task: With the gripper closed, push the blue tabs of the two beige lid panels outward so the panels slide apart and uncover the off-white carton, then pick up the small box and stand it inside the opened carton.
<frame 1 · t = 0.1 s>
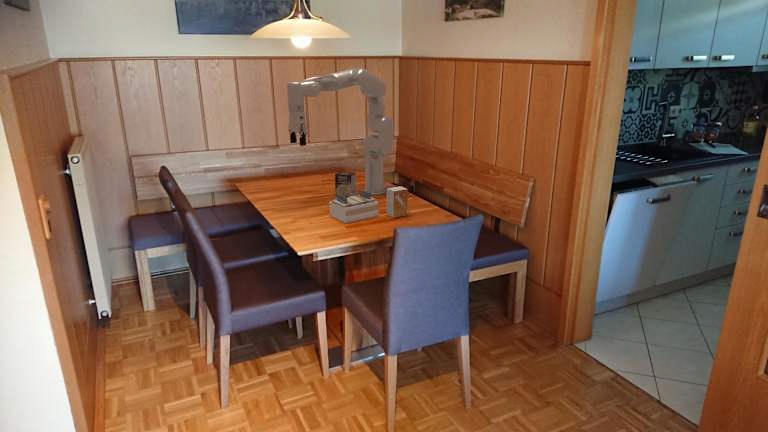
hand: (298, 144, 248), 31 cm above the table, tool pointing down, fingers open, 9 cm apart
coffee box: (345, 204, 261), on the table
lid panel 2: (361, 195, 241), point 9 cm above the table, slide at 0.0 cm
carton: (354, 216, 241), on the table
lid panel 1: (345, 198, 236), point 9 cm above the table, slide at 0.0 cm
small box: (396, 215, 242), on the table
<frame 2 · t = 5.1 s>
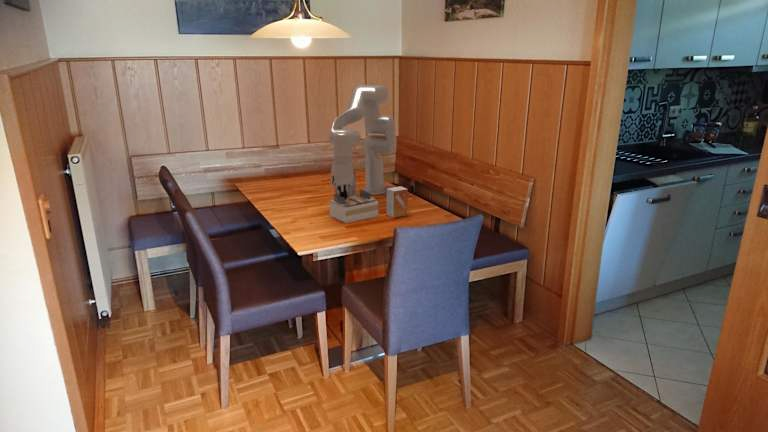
hand: (343, 199, 235), 9 cm above the table, tool pointing down, fingers closed
lid panel 1: (342, 199, 235), point 9 cm above the table, slide at 1.4 cm, touching gripper
everything else where it was.
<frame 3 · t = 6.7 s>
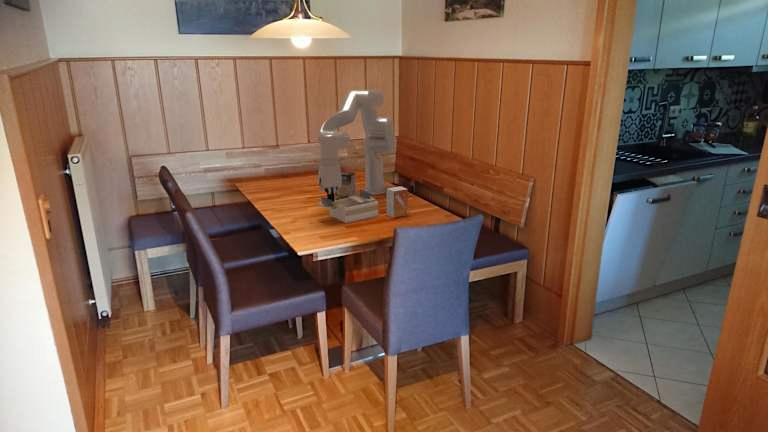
hand: (331, 201, 231), 9 cm above the table, tool pointing down, fingers closed
lid panel 1: (330, 201, 231), point 9 cm above the table, slide at 8.0 cm, touching gripper
everything else where it was.
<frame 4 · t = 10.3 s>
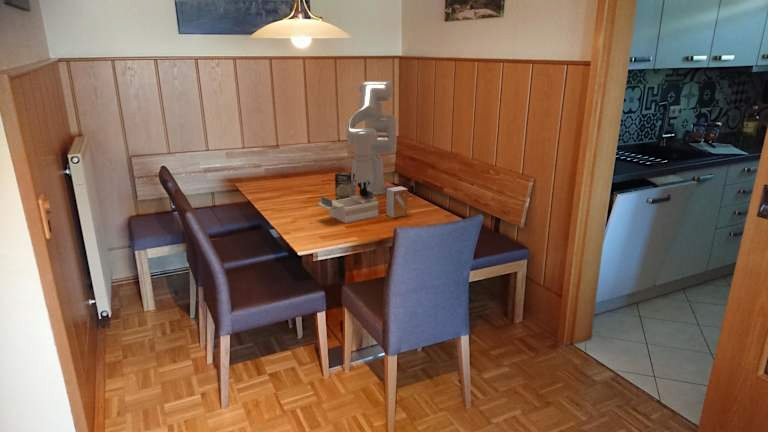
hand: (363, 196, 242), 9 cm above the table, tool pointing down, fingers closed
lid panel 2: (364, 195, 242), point 9 cm above the table, slide at 1.4 cm, touching gripper
lid panel 1: (330, 201, 231), point 9 cm above the table, slide at 8.0 cm
everything else where it was.
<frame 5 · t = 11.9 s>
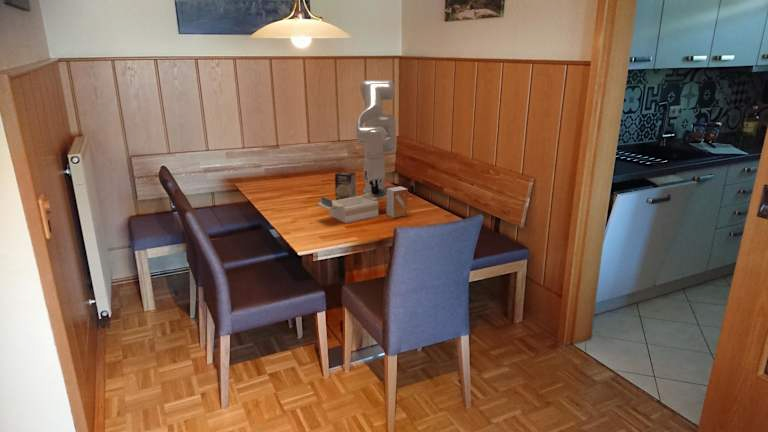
hand: (374, 193, 245), 9 cm above the table, tool pointing down, fingers closed
lid panel 2: (375, 193, 245), point 9 cm above the table, slide at 8.0 cm, touching gripper
everything else where it was.
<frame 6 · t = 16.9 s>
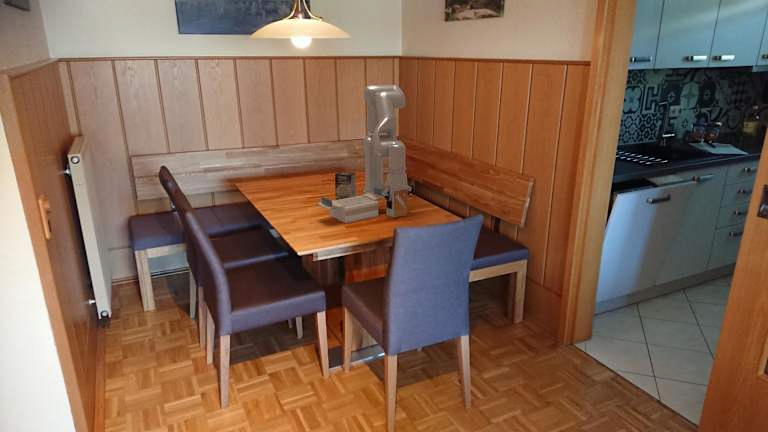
hand: (397, 206, 241), 4 cm above the table, tool pointing down, fingers closed on small box, 8 cm apart
lid panel 2: (375, 193, 245), point 9 cm above the table, slide at 8.0 cm
small box: (396, 215, 242), on the table, touching gripper
everything else where it was.
when the fingers open (6 cm above the table, at t = 23.2 s): small box drops 1 cm, resting on carton.
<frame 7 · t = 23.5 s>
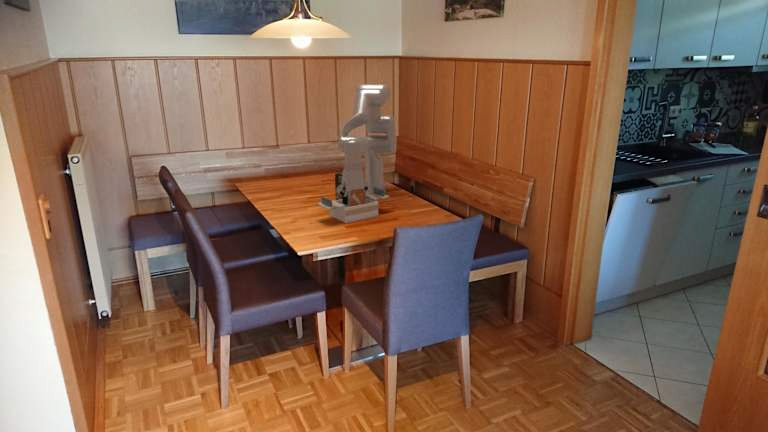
hand: (353, 202, 239), 7 cm above the table, tool pointing down, fingers open, 9 cm apart
small box: (354, 215, 241), resting on carton
everything else where it was.
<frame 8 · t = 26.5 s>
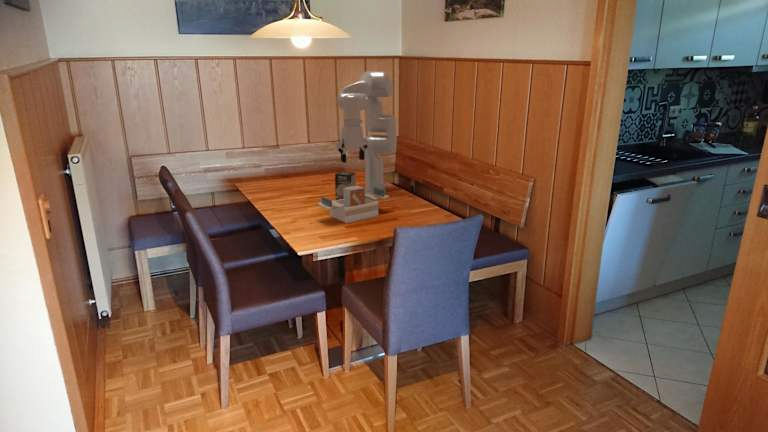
hand: (352, 161, 233), 26 cm above the table, tool pointing down, fingers open, 9 cm apart
nothing on the table moved.
at the end: lid panel 1 slide at 8.0 cm; lid panel 2 slide at 8.0 cm; small box inside the target area on the carton (0.3 cm from its centre), point 0.4 cm above the carton's base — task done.
